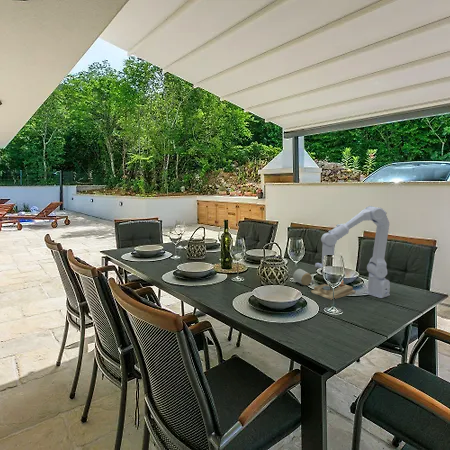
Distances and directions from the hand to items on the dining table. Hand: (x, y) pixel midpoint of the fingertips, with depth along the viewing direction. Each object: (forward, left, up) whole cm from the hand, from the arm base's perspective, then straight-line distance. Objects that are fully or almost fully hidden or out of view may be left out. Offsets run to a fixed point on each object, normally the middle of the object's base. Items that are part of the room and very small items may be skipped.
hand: (327, 283), depth 165 cm
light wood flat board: (0, -5, -5) cm, 7 cm away
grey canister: (+19, -4, -6) cm, 20 cm away
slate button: (0, 0, -4) cm, 4 cm away
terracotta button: (0, -10, -3) cm, 10 cm away
